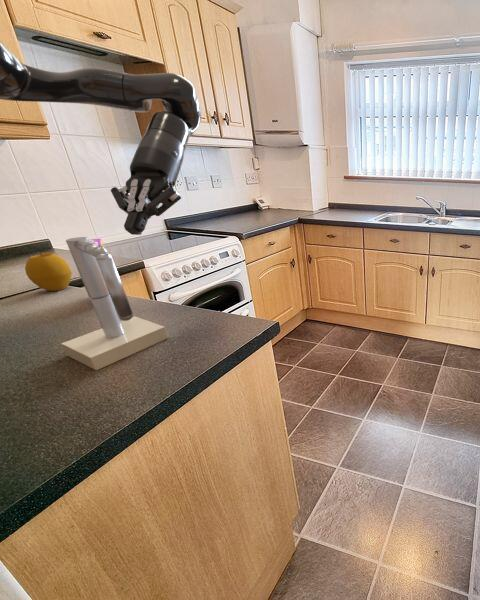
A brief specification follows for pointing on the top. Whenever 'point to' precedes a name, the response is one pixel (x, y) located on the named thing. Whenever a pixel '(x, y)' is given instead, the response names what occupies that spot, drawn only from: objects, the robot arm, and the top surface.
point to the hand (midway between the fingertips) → (132, 232)
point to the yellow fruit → (48, 271)
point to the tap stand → (113, 337)
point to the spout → (99, 274)
